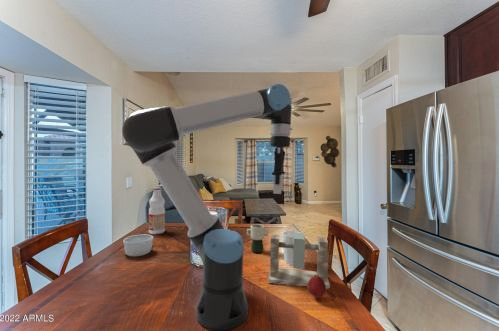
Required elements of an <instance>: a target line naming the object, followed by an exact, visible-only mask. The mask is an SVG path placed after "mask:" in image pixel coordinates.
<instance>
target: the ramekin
mask: <svg viewBox="0 0 499 331" xmlns="http://www.w3.org/2000/svg"><path fill="white" fill-rule="evenodd" d="M153 241H154V236H153V234H148V233H147V234H133V235H130V236H128V237H125V238H124V239H123V240H122V244H123V247H124V253H125V255H127V256H128V257H141V256H145V255H148V254H149V253H150V252H151V251H152V246H153Z"/></svg>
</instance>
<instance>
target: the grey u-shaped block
mask: <svg viewBox="0 0 499 331" xmlns="http://www.w3.org/2000/svg"><path fill="white" fill-rule="evenodd" d="M293 244H294V248H293V265H292V268H293V269H295V270H305V259H306V258H305V255H306V253H305V252H306V249H305V244H306V238H305V233H304V232H301V233H295V232H293Z"/></svg>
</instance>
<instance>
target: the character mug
mask: <svg viewBox="0 0 499 331" xmlns="http://www.w3.org/2000/svg"><path fill="white" fill-rule="evenodd" d="M249 232H250V233H249ZM246 235H247V236H250V239H252V241H251V247H250V250H251V251H252V252H253V253H262V252H264V250H265V249H264V241H263V240H264V239H265V237H269V229H266V227H265V224H260V223H253V224H251V225H250V228H247V229H246Z"/></svg>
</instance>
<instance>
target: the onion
mask: <svg viewBox="0 0 499 331" xmlns="http://www.w3.org/2000/svg"><path fill="white" fill-rule="evenodd" d="M307 290H308V292H309V293H310V294H311V295H312V296H313V297H314V299H319V298H321V297H323V296H324V295H325V293H326V290H327V289H326V285H325V283H324V281H323V280H322V278H320V277H319V276H318V275H317V274H315V276H314V277H312V278H311V279H310V280H309V282H308V287H307Z"/></svg>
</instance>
